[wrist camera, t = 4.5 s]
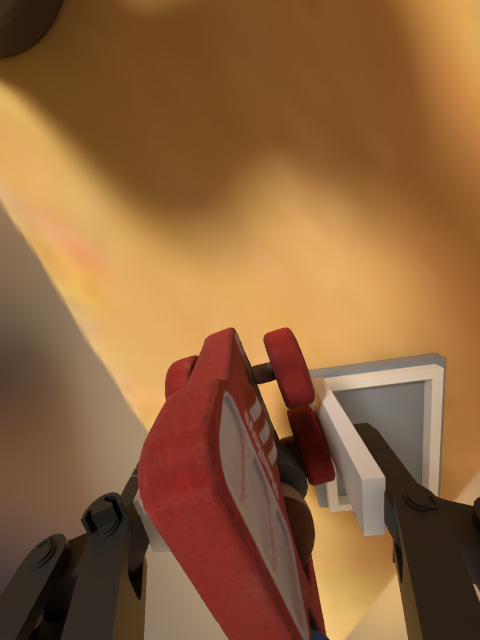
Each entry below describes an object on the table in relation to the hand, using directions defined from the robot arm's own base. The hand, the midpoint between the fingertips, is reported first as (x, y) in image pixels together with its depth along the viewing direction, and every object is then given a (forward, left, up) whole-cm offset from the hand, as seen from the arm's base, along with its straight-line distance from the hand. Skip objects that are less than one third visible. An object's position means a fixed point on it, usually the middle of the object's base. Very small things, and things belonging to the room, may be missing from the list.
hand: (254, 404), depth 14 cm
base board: (+13, +12, -10) cm, 20 cm away
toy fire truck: (0, 0, -1) cm, 1 cm away
